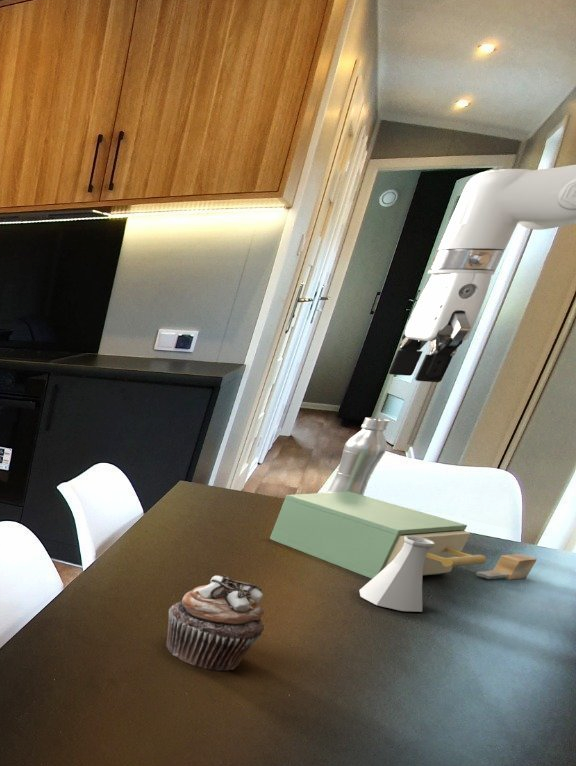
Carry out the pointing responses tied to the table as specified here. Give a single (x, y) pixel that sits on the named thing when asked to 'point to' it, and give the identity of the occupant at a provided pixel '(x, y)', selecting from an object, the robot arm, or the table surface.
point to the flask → (400, 578)
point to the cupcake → (216, 623)
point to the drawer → (442, 551)
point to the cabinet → (351, 528)
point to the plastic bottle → (361, 457)
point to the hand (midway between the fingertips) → (412, 377)
